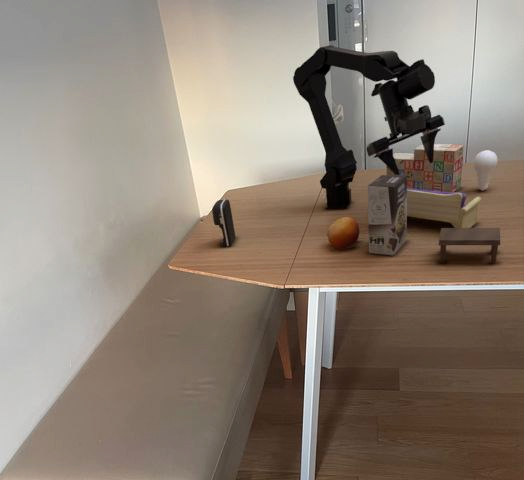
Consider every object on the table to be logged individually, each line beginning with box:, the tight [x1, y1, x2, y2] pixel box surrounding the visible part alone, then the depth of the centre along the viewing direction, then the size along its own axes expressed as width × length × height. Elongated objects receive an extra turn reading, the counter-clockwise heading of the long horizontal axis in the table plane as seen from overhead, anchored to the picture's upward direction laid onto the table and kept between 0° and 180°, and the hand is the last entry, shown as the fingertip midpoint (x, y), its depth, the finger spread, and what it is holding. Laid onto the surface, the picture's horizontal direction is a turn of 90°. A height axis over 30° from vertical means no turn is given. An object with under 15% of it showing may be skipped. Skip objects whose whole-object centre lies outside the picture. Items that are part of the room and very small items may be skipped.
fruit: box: [326, 216, 360, 250], centre depth 127 cm, size 8×8×8 cm
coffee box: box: [367, 174, 408, 256], centre depth 120 cm, size 9×6×16 cm
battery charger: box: [211, 198, 237, 247], centre depth 139 cm, size 7×4×11 cm, turn 171°
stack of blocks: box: [385, 143, 465, 192], centre depth 154 cm, size 21×6×12 cm, turn 49°
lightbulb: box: [473, 149, 499, 191], centre depth 145 cm, size 6×6×11 cm
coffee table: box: [438, 227, 501, 265], centre depth 112 cm, size 12×7×6 cm, turn 71°
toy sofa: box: [407, 188, 482, 228], centre depth 130 cm, size 21×9×10 cm, turn 47°
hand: (415, 169), depth 130 cm, fingers open, 9 cm apart
